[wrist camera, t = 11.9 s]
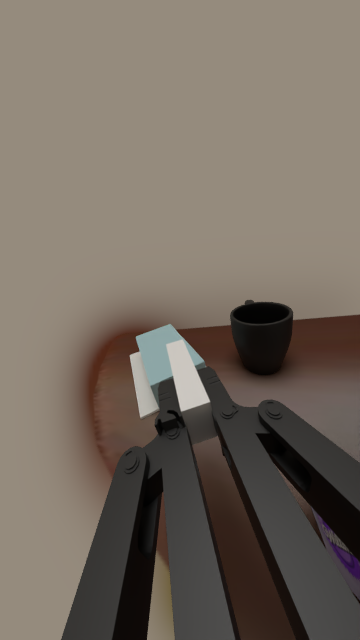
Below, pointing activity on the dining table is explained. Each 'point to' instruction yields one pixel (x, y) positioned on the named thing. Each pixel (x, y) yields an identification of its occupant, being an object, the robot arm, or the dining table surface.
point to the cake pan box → (340, 556)
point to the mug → (262, 334)
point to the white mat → (143, 387)
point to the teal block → (161, 355)
